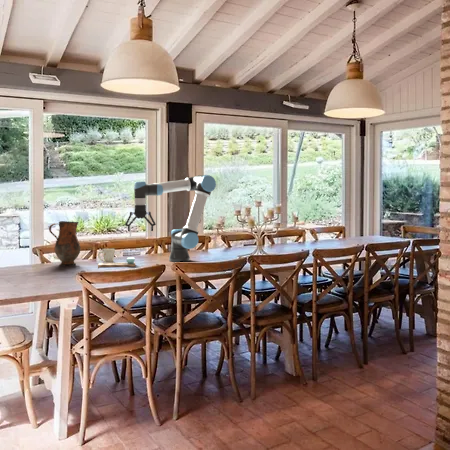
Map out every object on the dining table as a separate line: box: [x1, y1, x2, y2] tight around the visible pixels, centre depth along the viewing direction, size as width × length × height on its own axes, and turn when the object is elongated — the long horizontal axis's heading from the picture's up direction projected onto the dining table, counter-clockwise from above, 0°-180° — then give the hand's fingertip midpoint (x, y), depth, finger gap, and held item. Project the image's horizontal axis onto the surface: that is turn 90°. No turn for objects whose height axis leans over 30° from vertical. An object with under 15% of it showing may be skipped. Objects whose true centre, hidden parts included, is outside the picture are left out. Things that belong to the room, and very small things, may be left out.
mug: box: [97, 248, 116, 263], centre depth 355 cm, size 8×13×10 cm, turn 78°
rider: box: [126, 257, 135, 264], centre depth 339 cm, size 5×6×5 cm
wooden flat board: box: [97, 261, 136, 269], centre depth 338 cm, size 24×9×3 cm, turn 98°
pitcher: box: [48, 220, 81, 267], centre depth 345 cm, size 17×21×30 cm
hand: (140, 236), depth 340 cm, fingers open, 13 cm apart
